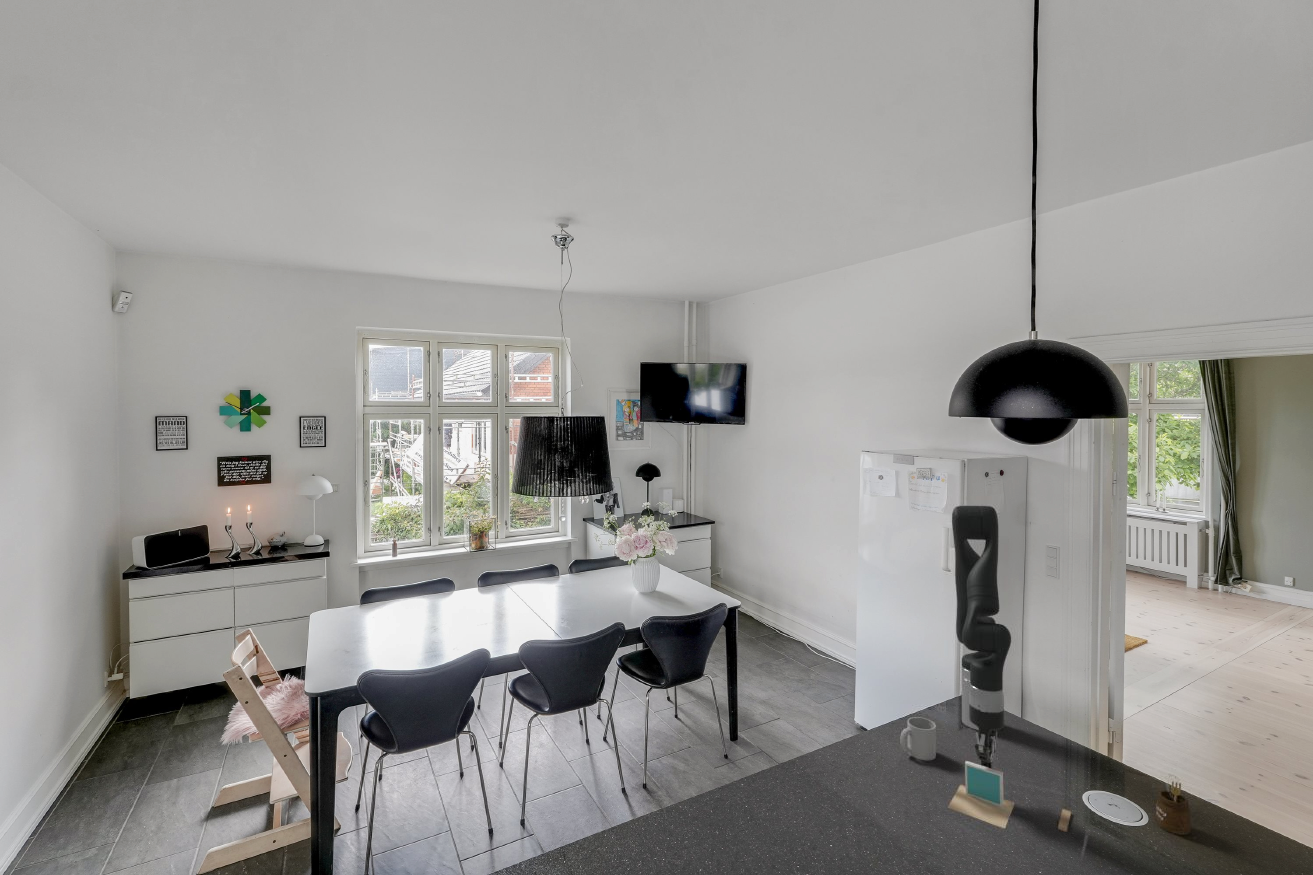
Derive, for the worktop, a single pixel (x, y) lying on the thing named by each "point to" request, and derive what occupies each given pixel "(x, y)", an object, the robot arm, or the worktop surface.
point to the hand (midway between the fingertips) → (986, 773)
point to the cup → (920, 738)
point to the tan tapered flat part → (1064, 820)
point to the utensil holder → (1173, 811)
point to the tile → (984, 783)
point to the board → (981, 808)
